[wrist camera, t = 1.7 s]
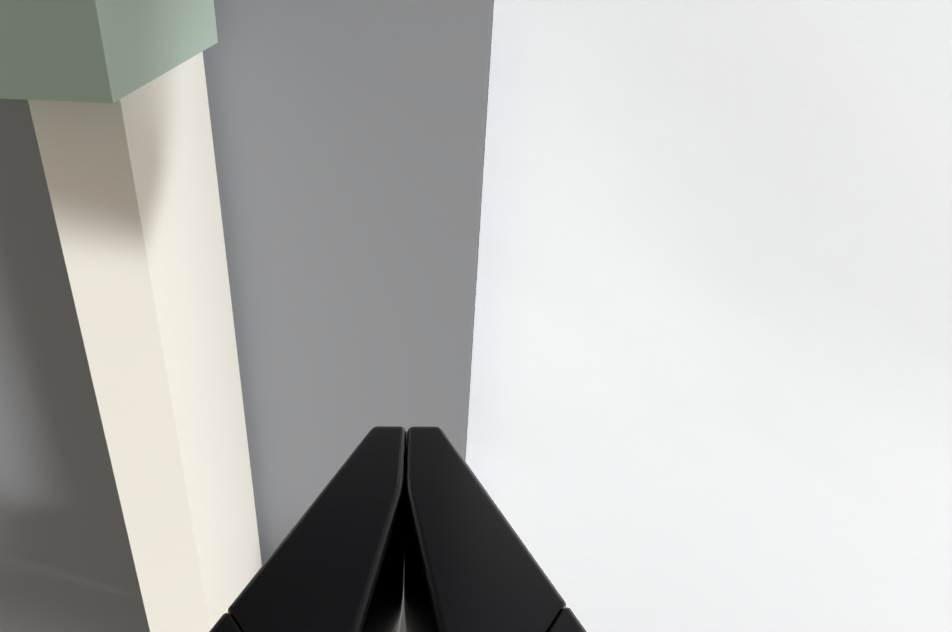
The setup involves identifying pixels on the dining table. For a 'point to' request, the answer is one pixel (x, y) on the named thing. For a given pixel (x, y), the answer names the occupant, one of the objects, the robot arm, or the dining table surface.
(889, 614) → the dining table surface
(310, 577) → the robot arm
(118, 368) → the cream rectangular bar
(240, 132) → the mat
